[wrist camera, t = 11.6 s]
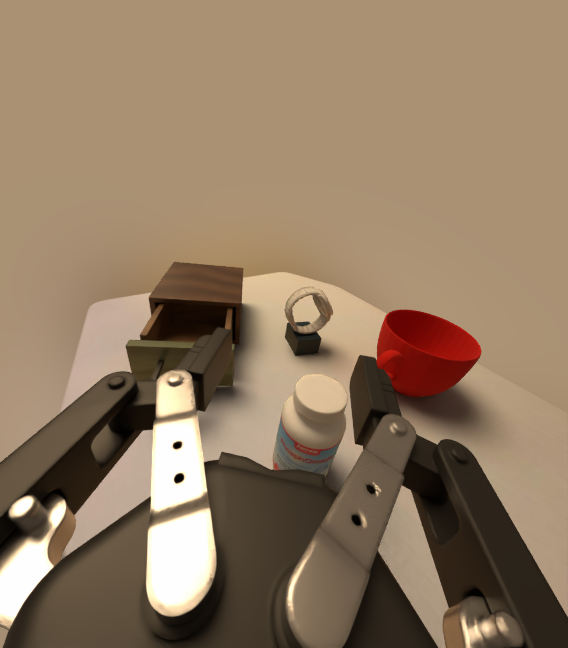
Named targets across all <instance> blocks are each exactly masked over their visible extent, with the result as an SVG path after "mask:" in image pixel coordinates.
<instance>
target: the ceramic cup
mask: <svg viewBox="0 0 568 648" xmlns="http://www.w3.org/2000/svg"><path fill="white" fill-rule="evenodd" d="M480 355H481V348H480V345H479V344H478V342H477V341H476V340H475V339H474V338H473V337H472V336H471V335H470V334H469V333H467V332H466V331H464V330H463V329H462V328H460V327H458V326H457V325H455V324H453V323H451V322H449V321H447V320H445V319H442V318H440V317H437V316H434V315H431V314H428V313H424V312H420V311H414V310H395V311H392V312H389V313H388V314H387V315H386V317H385V319H384V322H383V324H382V328H381V331H380V334H379V339H378V344H377V361H376V362H377V366H378V368H379V369H384V370H385V372H386V373H387V374H388V375H389V377H390V379H391V382H392V387H393V389H394V390H395V391H397V392H399V393H401V394H403V395H406V396H409V397H421V396H430V395H435V394H439V393H441V392H443V391H446V390H448V389H449V388H451V387H453V386H454V385H455V384H456V383H458V382H459V381H460V380H461V379H462V378H463V377H464V376H465V375H466V374H467V373H468V371H469V370H470V369H471V368H472V367H473V366H474V364H475V363H476V362H477V361H478V359H479V358H480Z"/></svg>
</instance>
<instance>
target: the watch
mask: <svg viewBox="0 0 568 648" xmlns="http://www.w3.org/2000/svg"><path fill="white" fill-rule="evenodd" d="M309 295H313V300H314V302H315V305H316V306H317V308H318V310H319V312H320V314H321V315H320V316H319V317H318V319H317V320H316V321H314V322H313V323H311V324H310V322H294V318H293V315H292V311H293V310H292V307H293V306H294V305H295V303H296V302H297V301H299V299H302V298H303V297H306V296H309ZM294 296H295V297H296V298H295V297H294ZM285 308H286V309H285V314H286V317H287V319H288V321H289V323H287V328H286V334H285V338H286V340H287V341H288V343H289V345H290V347H291V349H292V350H293V352H294V354H295V355H304V354H313V353H318V350H319V346H320V343H321V337H320V336H319V335H318V333H317V331H318V330H320V329H321V328H323V327H324V326H325V325H326V323H327V322H328V321H329V320H330V317H331V315H333V310H332V307H331V305H330V302H329V300H328V299H327V297H326V295H325V294H324V293H323V291H322V290H320V289H318V290H316V289H315V288H314V287H304V288H301V289H299V290H297V291H295V292H294V293H293V294H292V295H291V296H290V297H289V299H288V300H287V302H286V307H285ZM320 320H321V321H320ZM318 326H319V327H318Z"/></svg>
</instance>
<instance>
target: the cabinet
mask: <svg viewBox="0 0 568 648" xmlns="http://www.w3.org/2000/svg"><path fill="white" fill-rule="evenodd" d="M242 283H243V268H235V267H225V266H214V265H203V264H191V263H179V262H174V263H173V264H172V266H171V267H170V268H169V270H168V271H167V273H166V274H165V275H164V277H163V278H162V279H161V281H160V282H159V284H158V285H157V286H156V288H155V289H154V291H153V292H152V293H151V295H150V296H149V302H150V309H151V316H152V315H153V313H154V311H155V310H156V308H157V307H158V305H159V303H160V302H161V303H177V304H193V305H208V306H224V307H234V309H233V330H232V344H239V338H240V320H241V302H242Z"/></svg>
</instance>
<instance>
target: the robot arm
mask: <svg viewBox="0 0 568 648" xmlns="http://www.w3.org/2000/svg"><path fill="white" fill-rule="evenodd" d="M231 355H232V330H230V329H225V328H220V327H217V328H216V330H215V331H214V333H213V334H212V335H207V334H206V335H204V336H202V337H201V338H199V339H198V340H197V341H196V342H195V344H194V345H193V347H192V348H191V349H190V350H189V352H188V353H187V354H186V355H185V357H184V358H183V359H182V360H181V362H180V363H179V364H178V366H177V367H176V368H175V370H171V371H168V372H166V373H164V374H163V375H161V376H160V377H159V379H157V380H144V381H136V377H135V375H134V374H132V373H130V372H124V371H122V372H115V373H112V374H109V375H107V376H105V377H104V378H102V379H101V380H100V381H98V382H97V383H96V384H95V385H94V386H92V387H91V388H90V389H89V390H88V391H86V392H85V393H84V394H83V395H81V396H80V397H79V398H78V399H77V400H75V401H74V402H73V403H72V404H71V405H69V406H68V407H67V408H66V409H65V410H63V411H62V412H61V413H60V414H59V415H57V416H56V417H55V418H54V419H53V420H51V421H50V422H49V423H48V424H46V425H45V426H44V427H43V428H42V429H40V430H39V431H38V432H37V433H36V434H34V435H33V436H32V437H31V438H29V439H28V440H27V441H26V442H25V443H23V444H22V445H21V446H20V447H19V448H17V449H16V450H15V451H14V452H13V453H11V454H10V455H9V456H8V457H7V458H5V459H4V460H3V461H2V462H0V627H2V628H4V629H7V630H9V632H8V634H7V637H6V640H5V643H4V646H3V648H438V646H437V645H436V643H435V642H434V640H433V638H432V637H431V635H430V634H429V632H428V630H427V629H426V627H425V626H424V624H423V622H422V621H421V619H420V618H419V616H418V614H417V613H416V611H415V610H414V608H413V606H412V605H411V603H410V601H409V600H408V598H407V597H406V595H405V593H404V592H403V590H402V589H401V587H400V585H399V584H398V582H397V581H396V579H395V577H394V576H393V574H392V573H391V571H390V569H389V568H388V566H387V565H386V563H385V561H384V560H383V558H382V557H381V555H380V553H379V552H378V548H379V545H380V542H381V540H382V537H383V534H384V531H385V529H386V526H387V523H388V521H389V518H390V515H391V512H392V510H393V507H394V504H395V502H396V499H397V496H398V494H399V491H400V488H401V485H402V486H404V487H406V488H408V489H410V490H411V492H412V495H413V498H414V501H415V504H416V507H417V510H418V513H419V516H420V520H421V523H422V526H423V529H424V532H425V535H426V538H427V541H428V544H429V548H430V551H431V554H432V557H433V560H434V563H435V566H436V569H437V572H438V576H439V579H440V582H441V585H442V588H443V591H444V594H445V597H446V600H447V604H448V607H449V609H448V610H447V611H446V612H445V614H444V617H443V633H444V638H445V646H446V648H568V617H567V615H566V614H565V612H564V610H563V608H562V607H561V605H560V603H559V601H558V600H557V598H556V596H555V594H554V593H553V591H552V589H551V588H550V586H549V584H548V582H547V581H546V579H545V577H544V575H543V574H542V572H541V570H540V569H539V567H538V565H537V563H536V562H535V560H534V558H533V556H532V555H531V553H530V551H529V550H528V548H527V546H526V544H525V543H524V541H523V539H522V537H521V536H520V534H519V532H518V531H517V529H516V527H515V525H514V524H513V522H512V520H511V518H510V517H509V515H508V513H507V512H506V510H505V508H504V506H503V505H502V503H501V501H500V499H499V498H498V496H497V494H496V492H495V491H494V489H493V487H492V486H491V484H490V482H489V480H488V479H487V477H486V475H485V473H484V472H483V470H482V468H481V467H480V465H479V463H478V461H477V460H476V458H475V456H474V455H473V454H472V453H471V452H470V451H469V450H468V449H467V448H466V447H465V446H463V445H462V444H460V443H458V442H456V441H454V440H450V439H444V440H441V441H440V442H439V443H438V445H437V444H435V443H433V442H431V441H429V440H426V439H424V438H422V437H420V436H418V435H417V434H416V431H415V429H414V427H413V426H412V425H411V424H410V423H409V422H408V421H407V420H406V419H404V418H403V417H402V416H401V412H400V409H399V406H398V402H397V399H396V396H395V394H394V389H393V387H392V382H391V379H390V377H389V375H388V374H387V373H386V372H385V370H384V369H379V368H378V366H377V362H376V359H375V358H373V357H368V356H363V355H360V356H359V357H358V360H357V363H356V365H355V368H354V371H353V373H352V376H351V380H350V398H351V408H352V418H353V428H354V439H355V444H358V445H363V452H362V453H361V455H360V457H359V459H358V460H357V462H356V464H355V466H354V467H353V469H352V471H351V473H350V474H349V476H348V478H347V480H346V481H345V483H344V485H343V487H342V488H341V490H340V492H339V494H338V493H337V492H336V491H335V490H333V489H332V488H331V487H329V486H327V485H326V484H325V475H323V474H318V473H314V472H309V471H305V470H300V469H292V470H270V469H268V468H266V467H264V466H262V465H260V464H258V463H256V462H255V461H253V460H251V459H249V458H247V457H243V456H238V455H234V454H229V453H225V452H222V453H221V455H220V458H219V460H213V461H208V462H203V454H202V446H201V438H200V431H199V423H198V415H197V410H199V411H204V412H205V410H206V408H207V406H208V404H209V402H210V400H211V398H212V396H213V394H214V392H215V390H216V388H217V386H218V385H219V383H220V381H221V379H222V377H223V375H224V373H225V371H226V369H227V367H228V365H229V363H230V360H231ZM143 430H153V456H152V488H151V496H150V497H149V498H148V499H146V500H145V501H143V502H142V503H141V504H139V505H138V506H136V507H135V508H134V509H132V510H131V511H129V512H128V513H127V514H125V515H124V516H122V517H121V518H119V519H118V520H117V521H115V522H114V523H112V524H111V525H110V526H108V527H107V528H105V529H104V530H103V531H101V532H100V533H98V534H97V535H96V536H94V537H93V538H91V539H90V540H89V541H87V542H86V543H84V544H83V545H81V546H80V547H79V548H77V549H76V550H74V551H73V552H72V553H70V554H69V555H67V556H66V557H65V558H63V559H62V560H61V556H62V553H63V551H64V549H65V547H66V545H67V544H68V542H69V541H70V539H71V537H72V535H73V533H74V530H75V527H76V519H75V516H74V515H75V514H76V513H77V511H78V510H79V509H80V508H81V506H82V505H83V504H84V503H85V501H86V500H87V499H88V498H89V496H90V495H91V494H92V493H93V491H94V490H95V489H96V488H97V487H98V485H99V484H100V483H101V482H102V480H103V479H104V478H105V477H106V475H107V474H108V473H109V472H110V470H111V469H112V468H113V467H114V465H115V464H116V463H117V462H118V460H119V459H120V458H121V457H122V456H123V454H124V453H125V452H126V451H127V449H128V448H129V447H130V446H131V444H132V443H133V442H134V441H135V439H136V438H137V437H138V436H139V434H140V433H141V432H142V431H143ZM60 560H61V561H60Z"/></svg>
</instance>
